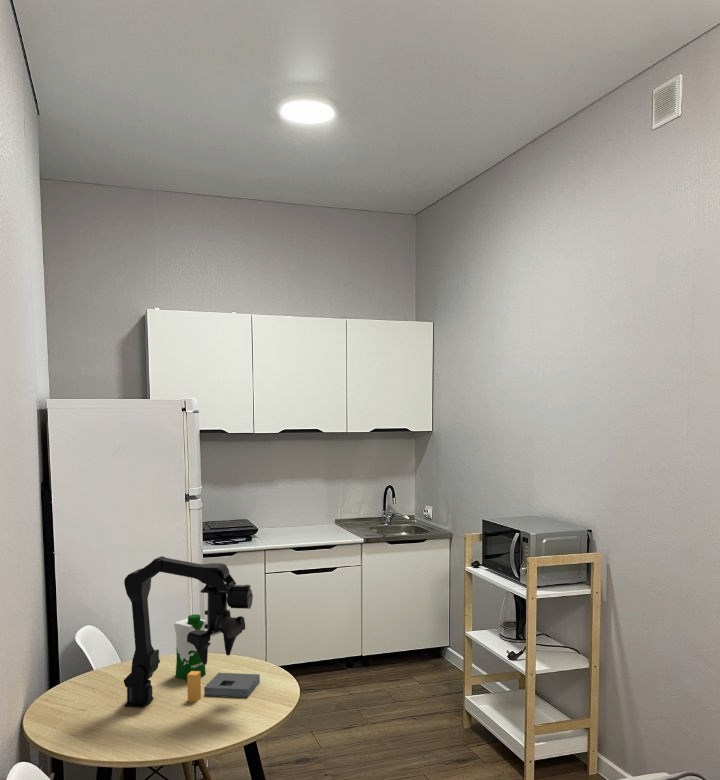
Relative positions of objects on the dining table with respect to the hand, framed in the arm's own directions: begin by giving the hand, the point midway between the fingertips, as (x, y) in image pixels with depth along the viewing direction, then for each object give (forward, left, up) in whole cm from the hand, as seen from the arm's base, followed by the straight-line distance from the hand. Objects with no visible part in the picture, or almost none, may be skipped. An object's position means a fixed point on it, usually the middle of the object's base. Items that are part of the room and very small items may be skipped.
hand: (216, 659), depth 201 cm
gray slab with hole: (+1, +12, -13) cm, 18 cm away
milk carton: (-17, +21, -14) cm, 30 cm away
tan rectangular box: (-8, +3, -13) cm, 16 cm away
